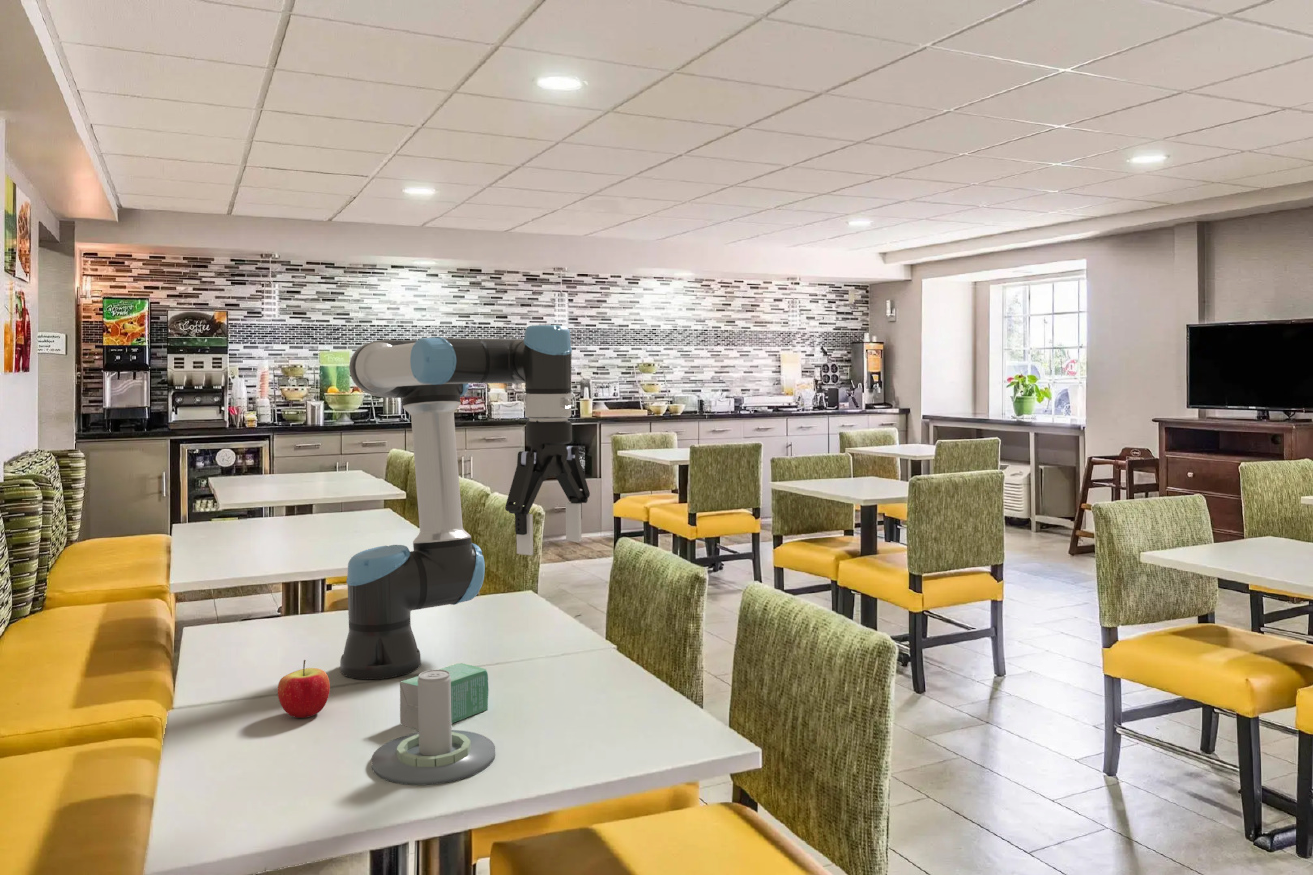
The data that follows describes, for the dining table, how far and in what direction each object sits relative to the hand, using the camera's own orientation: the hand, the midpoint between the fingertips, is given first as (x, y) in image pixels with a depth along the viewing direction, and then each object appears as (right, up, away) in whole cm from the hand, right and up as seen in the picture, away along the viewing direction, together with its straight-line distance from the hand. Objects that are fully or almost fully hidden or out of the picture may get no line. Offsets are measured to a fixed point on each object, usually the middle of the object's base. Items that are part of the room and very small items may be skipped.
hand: (550, 547), depth 158 cm
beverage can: (-15, -29, -16) cm, 36 cm away
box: (-18, -29, +2) cm, 34 cm away
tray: (-16, -30, -15) cm, 37 cm away
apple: (-42, -29, +3) cm, 51 cm away
